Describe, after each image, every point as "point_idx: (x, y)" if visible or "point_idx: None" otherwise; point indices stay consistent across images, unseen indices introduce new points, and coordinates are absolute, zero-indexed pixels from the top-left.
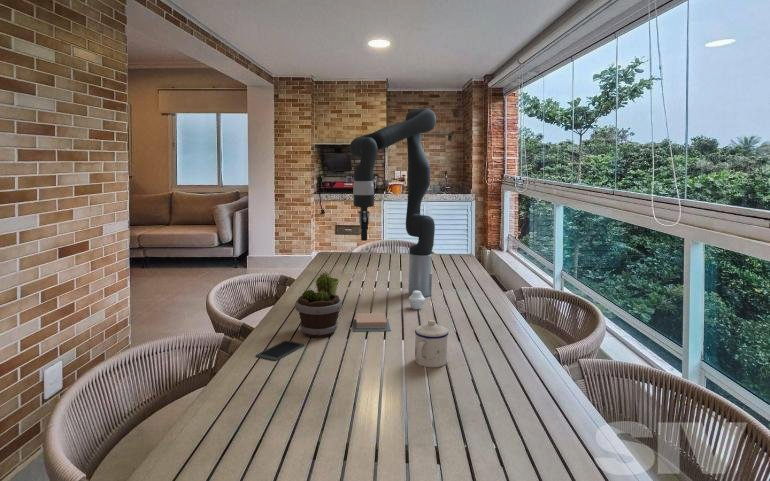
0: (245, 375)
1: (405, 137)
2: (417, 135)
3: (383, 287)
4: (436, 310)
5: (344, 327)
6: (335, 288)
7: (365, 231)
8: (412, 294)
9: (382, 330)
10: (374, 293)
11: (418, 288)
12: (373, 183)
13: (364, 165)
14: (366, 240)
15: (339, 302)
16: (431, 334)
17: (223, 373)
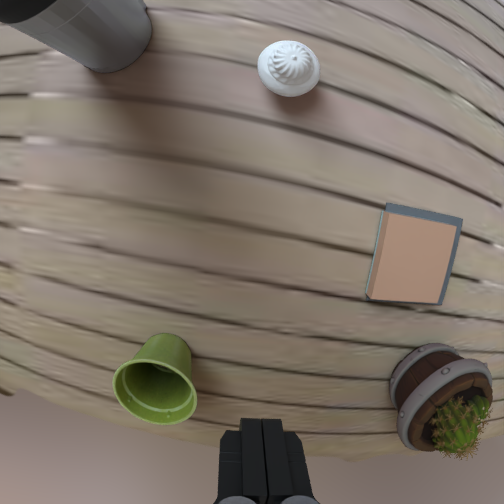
0: (496, 420)
1: None
2: None
3: (18, 154)
4: (318, 28)
5: (410, 323)
6: (175, 358)
7: (312, 498)
8: (294, 79)
9: (458, 238)
10: (78, 192)
11: (139, 33)
12: None
13: None
14: (280, 419)
15: (481, 370)
16: None
17: (481, 439)
